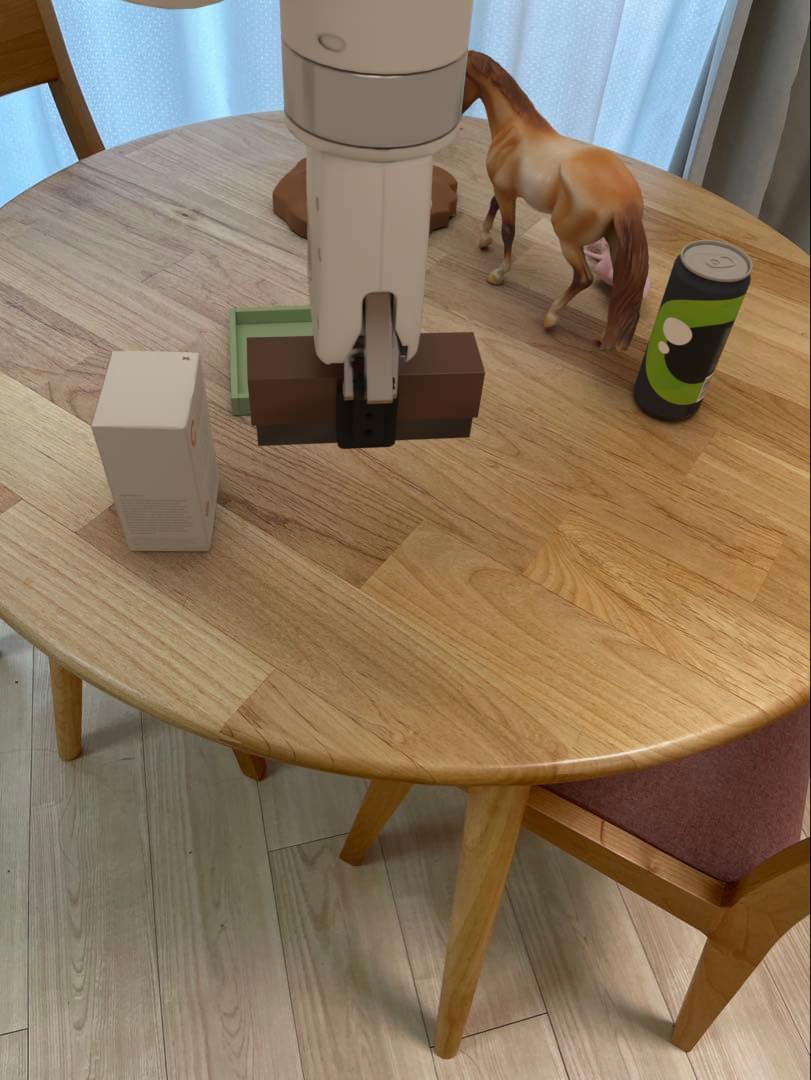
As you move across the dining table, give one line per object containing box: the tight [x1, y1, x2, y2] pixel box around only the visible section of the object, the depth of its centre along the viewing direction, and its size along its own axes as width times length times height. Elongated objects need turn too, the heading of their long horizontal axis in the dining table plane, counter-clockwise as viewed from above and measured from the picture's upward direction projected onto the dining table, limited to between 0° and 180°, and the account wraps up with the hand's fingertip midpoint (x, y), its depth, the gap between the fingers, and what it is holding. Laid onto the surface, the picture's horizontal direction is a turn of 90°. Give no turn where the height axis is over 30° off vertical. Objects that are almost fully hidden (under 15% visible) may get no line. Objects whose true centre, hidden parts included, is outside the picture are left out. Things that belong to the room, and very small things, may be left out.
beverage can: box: [633, 239, 754, 421], centre depth 76 cm, size 6×6×15 cm
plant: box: [271, 157, 459, 240], centre depth 97 cm, size 20×20×11 cm
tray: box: [228, 304, 313, 416], centre depth 82 cm, size 17×13×2 cm
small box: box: [90, 350, 220, 552], centre depth 65 cm, size 8×6×13 cm
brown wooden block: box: [247, 331, 486, 447], centre depth 49 cm, size 12×4×5 cm, turn 97°
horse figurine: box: [460, 49, 650, 353], centre depth 83 cm, size 31×8×21 cm, turn 32°
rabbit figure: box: [583, 237, 652, 300], centre depth 92 cm, size 6×6×15 cm
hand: (362, 415), depth 50 cm, fingers closed on brown wooden block, 3 cm apart
